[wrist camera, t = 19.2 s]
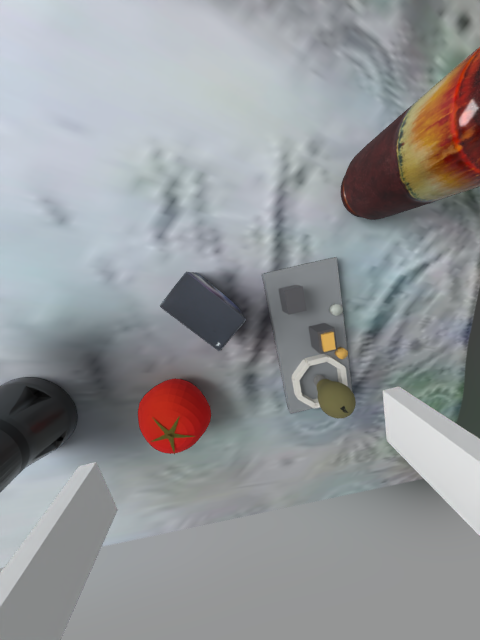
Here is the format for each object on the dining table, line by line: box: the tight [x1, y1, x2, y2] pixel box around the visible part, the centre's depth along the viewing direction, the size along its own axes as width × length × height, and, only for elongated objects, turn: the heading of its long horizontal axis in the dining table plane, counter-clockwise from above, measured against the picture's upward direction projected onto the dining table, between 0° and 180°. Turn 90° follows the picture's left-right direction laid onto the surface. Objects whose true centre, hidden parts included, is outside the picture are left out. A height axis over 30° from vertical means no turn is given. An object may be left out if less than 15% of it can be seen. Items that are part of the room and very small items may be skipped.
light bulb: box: [313, 375, 355, 418], centre depth 38 cm, size 6×6×10 cm
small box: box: [160, 272, 246, 351], centre depth 35 cm, size 11×6×10 cm, turn 50°
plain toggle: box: [279, 285, 307, 315], centre depth 37 cm, size 3×4×4 cm
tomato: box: [138, 379, 211, 454], centre depth 39 cm, size 11×12×10 cm
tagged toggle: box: [309, 323, 337, 354], centre depth 39 cm, size 3×4×4 cm
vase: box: [341, 47, 480, 220], centre depth 25 cm, size 11×11×26 cm
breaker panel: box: [262, 257, 352, 414], centre depth 41 cm, size 13×28×4 cm, turn 12°
